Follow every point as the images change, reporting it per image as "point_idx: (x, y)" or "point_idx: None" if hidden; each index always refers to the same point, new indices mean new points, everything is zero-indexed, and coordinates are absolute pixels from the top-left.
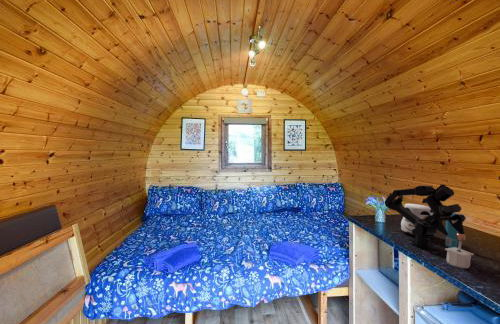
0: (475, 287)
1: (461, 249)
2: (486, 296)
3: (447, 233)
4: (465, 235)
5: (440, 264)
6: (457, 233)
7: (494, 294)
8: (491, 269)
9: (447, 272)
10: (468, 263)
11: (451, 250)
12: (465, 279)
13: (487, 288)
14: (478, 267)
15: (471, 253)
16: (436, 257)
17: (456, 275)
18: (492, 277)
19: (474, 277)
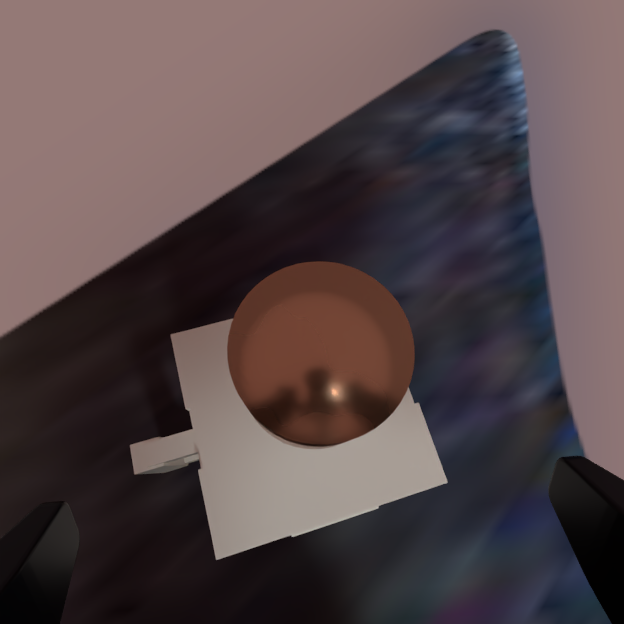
0: (490, 114)
1: (204, 466)
2: (507, 49)
3: (595, 469)
4: (286, 267)
5: (486, 409)
6: (388, 387)
7: (440, 60)
8: (53, 330)
9: (532, 276)
10: None
11: (403, 419)
12: (473, 190)
13: (421, 104)
14: (144, 363)
15: (199, 338)
16: (401, 580)
17: (495, 237)
18: (222, 212)
19: (375, 212)
